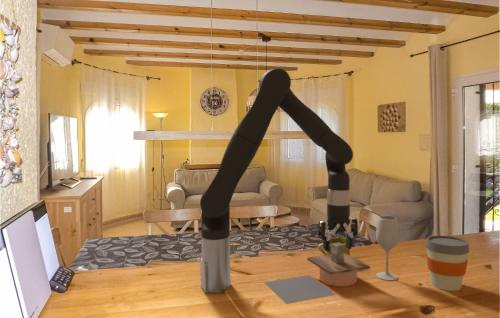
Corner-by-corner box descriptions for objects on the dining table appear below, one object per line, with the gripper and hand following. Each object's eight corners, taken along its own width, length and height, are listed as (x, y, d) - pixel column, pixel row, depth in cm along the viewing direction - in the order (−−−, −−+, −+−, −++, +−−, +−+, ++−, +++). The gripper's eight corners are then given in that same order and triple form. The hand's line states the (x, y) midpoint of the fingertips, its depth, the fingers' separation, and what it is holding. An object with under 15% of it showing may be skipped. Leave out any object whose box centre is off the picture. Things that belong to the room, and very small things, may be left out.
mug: (350, 251, 155) (346, 230, 152) (354, 267, 146) (350, 245, 142) (320, 255, 157) (316, 235, 154) (322, 271, 148) (318, 250, 144)
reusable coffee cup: (473, 285, 125) (475, 240, 124) (458, 296, 116) (460, 248, 115) (434, 274, 134) (435, 233, 133) (418, 284, 126) (419, 240, 125)
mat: (286, 306, 111) (286, 303, 111) (264, 284, 127) (264, 282, 127) (336, 296, 117) (336, 294, 117) (309, 277, 133) (309, 275, 133)
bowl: (332, 290, 122) (332, 272, 121) (313, 277, 133) (313, 260, 133) (364, 285, 126) (364, 267, 125) (342, 272, 137) (342, 256, 137)
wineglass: (373, 278, 131) (374, 218, 130) (377, 271, 138) (378, 214, 136) (396, 282, 128) (398, 220, 126) (399, 274, 134) (400, 216, 133)
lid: (330, 274, 119) (330, 253, 119) (307, 259, 133) (307, 240, 133) (370, 268, 125) (370, 247, 124) (343, 254, 139) (343, 236, 138)
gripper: (326, 206, 121) (325, 255, 123) (363, 202, 126) (362, 250, 128) (314, 202, 129) (313, 249, 130) (349, 199, 133) (349, 244, 135)
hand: (337, 249), depth 129 cm, fingers open, 8 cm apart
